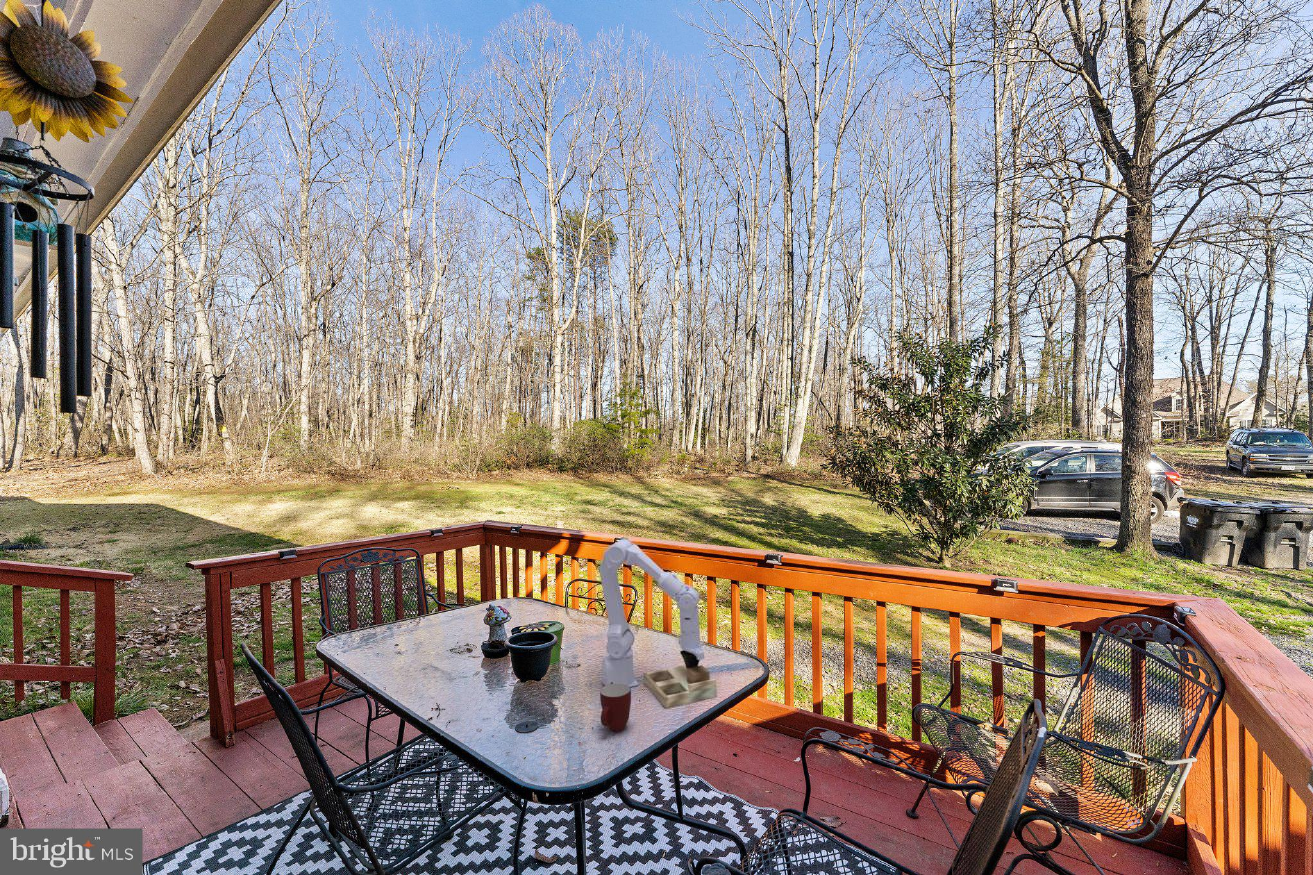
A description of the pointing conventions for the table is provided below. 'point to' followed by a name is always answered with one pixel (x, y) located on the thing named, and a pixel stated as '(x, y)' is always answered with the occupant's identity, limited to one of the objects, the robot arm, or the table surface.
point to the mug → (615, 706)
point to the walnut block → (697, 674)
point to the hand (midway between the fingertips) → (692, 675)
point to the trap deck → (678, 687)
